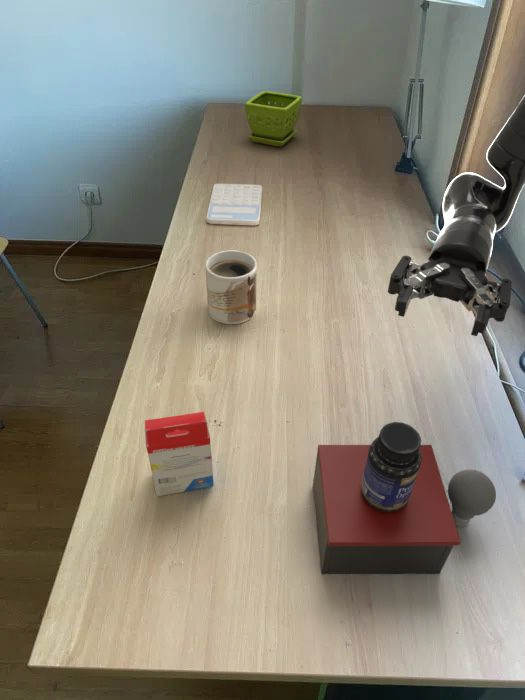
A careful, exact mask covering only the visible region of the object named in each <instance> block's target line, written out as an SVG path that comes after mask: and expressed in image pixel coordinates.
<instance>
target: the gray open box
mask: <svg viewBox="0 0 525 700" xmlns="http://www.w3.org/2000/svg"><path fill="white" fill-rule="evenodd" d="M312 494H313V502H314V503H313V504H314V513H315V525H316V535H317V546H318V547H317V548H318V556H319V566H320V574H321V575H440V574H441V573H442V570H443V568H444V566H445V564H446V562H447V560H448V558H449V556H450V554H451V551H452V550H453V547H454V546H328V537H327V528H326V519H325V510H324V501H323V491H322V482H321V473H320V464H319V455H318V450H317V452H316V459H315V466H314V474H313V480H312Z"/></svg>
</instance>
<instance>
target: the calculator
mask: <svg viewBox="0 0 525 700" xmlns="http://www.w3.org/2000/svg"><path fill="white" fill-rule="evenodd" d="M262 198H263V186H262V185H260V184H246V183H214V184H213V187H212V191H211V195H210V200H209V204H208V209H207V213H206V218H205V219H206V223H207V224H209V225H230V226H258V225H259V224H260V221H261V210H262V200H263V199H262Z"/></svg>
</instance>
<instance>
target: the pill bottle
mask: <svg viewBox="0 0 525 700" xmlns="http://www.w3.org/2000/svg"><path fill="white" fill-rule="evenodd" d="M370 445H371V446H370V448H369V453H368V457H367V462H366V466H365V470H364V474H363V478H362V483H361V492H362V495H363V498H364V499H365V501H366V502H367V503H368V504H369V505H370V506H371V507H373V508H375V509H376V510H379V511H382V512H389V513H390V512H395V511H399V510H400V509H402V508H403V507H404V506H405V505H406V504H407V502H408V500H409V497H410V494H411V491H412V488H413V486H414V483H415V480H416V477H417V474H418V471H419V468H420V465H421V461H422V457H421V453H420V450H419V448H420V445H422V437H421V435H420V433H419V432H418V431H417V429H416V428H415V427H413V426H412V425H410V424H408V423H405V422H400V421H392V422H389V423H386V424H384V425H383V426H382V427H381V429H380V431H379V433H378V436H377V437H376V438H374V440H373V441H372V442H371V444H370Z"/></svg>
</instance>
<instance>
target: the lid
mask: <svg viewBox="0 0 525 700" xmlns="http://www.w3.org/2000/svg"><path fill="white" fill-rule="evenodd" d="M370 446H371V444H318V445H317V451H318V455H319V464H320V473H321V482H322V491H323V501H324V510H325V519H326V528H327V537H328V546H453V547H455V546H460V544H461V539H460V536H459V533H458V529H457V526H456V525H455V522H454V519H453V516H452V508H451V505H450V502H449V498H448V494H447V492H446V489H445V486H444V482H443V479H442V476H441V472H440V469H439V466H438V462H437V459H436V456H435V452H434V448H433V446H432V444H421V445H420V448H419V450H420V453H421V457H422V461H421V465H420V468H419V471H418V474H417V477H416V480H415V483H414V486H413V488H412V491H411V494H410V497H409V500H408V502H407V504H406V505H405V506H404V507H403V508H402V509H400V510H399V511H395V512H390V513H389V512H382V511H379V510H376V509H375V508H373V507H371V506H370V505H369V504H368V503H367V502H366V501H365V499H364V498H363V495H362V492H361V483H362V478H363V474H364V470H365V466H366V462H367V457H368V453H369V448H370Z"/></svg>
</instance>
